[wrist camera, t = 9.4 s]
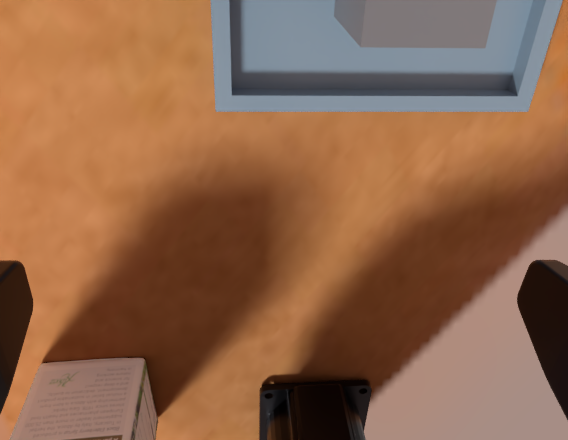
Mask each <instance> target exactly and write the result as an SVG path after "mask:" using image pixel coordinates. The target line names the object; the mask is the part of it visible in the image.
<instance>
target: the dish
mask: <svg viewBox="0 0 568 440" xmlns="http://www.w3.org/2000/svg"><path fill="white" fill-rule="evenodd" d="M562 1H563V0H497V2H496V6H495V10H494V15H493V19H492V23H491V27H490V31H489V35H488V39H487V44H486V48H373V47H360V46H359V45H358V44H357V43H356V41H355V40H354V39H353V38H352V37H351V36H350V35H349V33H348V32H347V31H346V30H345V29H344V28H343V26H342V25H341V24H340V23H339V22H338V21H337V19H336V18H335V17H334V7H335V0H211V18H212V41H213V63H214V85H215V108H216V112H528V110H529V107H530V104H531V101H532V97H533V94H534V91H535V88H536V85H537V81H538V78H539V75H540V72H541V68H542V65H543V62H544V59H545V56H546V52H547V49H548V46H549V43H550V40H551V36H552V33H553V30H554V27H555V23H556V20H557V17H558V14H559V11H560V7H561V4H562Z"/></svg>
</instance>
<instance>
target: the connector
mask: <svg viewBox="0 0 568 440" xmlns="http://www.w3.org/2000/svg"><path fill="white" fill-rule="evenodd" d="M496 2H497V0H335V7H334V17H335V18H336V19H337V21H338V22H339V23H340V24H341V25H342V26H343V28H344V29H345V30H346V31H347V32H348V33H349V35H350V36H351V37H352V38H353V39H354V40H355V41H356V43H357V44H358V45H359V46H360V47H373V48H486V44H487V39H488V35H489V31H490V27H491V23H492V19H493V15H494V10H495V6H496Z"/></svg>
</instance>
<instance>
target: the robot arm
mask: <svg viewBox="0 0 568 440" xmlns="http://www.w3.org/2000/svg"><path fill="white" fill-rule="evenodd" d="M517 303H518V307H519V310H520V313H521V315H522V318H523V321H524V323H525V326H526V328H527V331H528V333H529V336H530V338H531V341H532V343H533V346H534V349H535V351H536V354H537V356H538V359H539V361H540V363H541V367H542V369H543V371H544V373H545V376H546V378H547V380H548V382H549V385H550V387H551V389H552V391H553V393H554V394H555V397H556V398H557V400H558V402H559V404H560V406H561V408H562V410H563V412H564V414H565V415H566V418H567V420H568V266H567V265H565V264H563V263H561V262H559V261H556V260H536V261H533V262H532V263H531V264H530V265H529V267H528V270H527V272H526V275H525V277H524V280H523V282H522V285H521V288H520V290H519V293H518V297H517ZM32 311H33V298H32V294H31V290H30V286H29V283H28V279H27V275H26V272H25V268H24V266H23V264H22V263H21V262H19V261H0V413H1V411H2V409H3V406H4V404H5V401H6V398H7V396H8V393H9V390H10V387H11V384H12V381H13V377H14V374H15V371H16V367H17V364H18V360H19V357H20V353H21V350H22V346H23V343H24V339H25V336H26V332H27V329H28V325H29V322H30V319H31V315H32ZM371 391H372V390H371V386H370V383H369V381H367V380H349V381H329V382H308V383H288V384H268V385H264V386H262V387H261V388H260V415H259V440H365V436H364V426H365V422H366V417H367V412H368V406H369V401H370V396H371Z"/></svg>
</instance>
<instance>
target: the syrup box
mask: <svg viewBox="0 0 568 440" xmlns="http://www.w3.org/2000/svg"><path fill="white" fill-rule="evenodd" d="M157 423H158V417H157V413H156V409H155V404H154V400H153V395H152V390H151V385H150V381H149V376H148V371H147V366H146V361H145V359H143V358H109V359H92V360H79V361H66V362H52V363H42V364H41V365H40V366H39V368H38V370H37V373H36V376H35V378H34V381H33V383H32V385H31V388H30V390H29V393H28V395H27V398H26V401H25V403H24V405H23V408H22V410H21V413H20V415H19V418H18V420H17V423H16V425H15V427H14V430H13V432H12V435H11V437H10V440H155V439H156V431H157Z"/></svg>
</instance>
